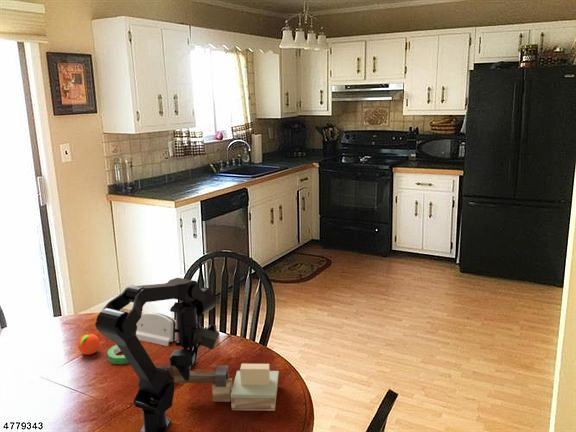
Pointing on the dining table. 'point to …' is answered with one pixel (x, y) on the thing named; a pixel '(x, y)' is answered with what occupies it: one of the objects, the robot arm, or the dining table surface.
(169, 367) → the bolt
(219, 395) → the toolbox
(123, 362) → the tape roll
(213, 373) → the key
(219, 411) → the dining table surface
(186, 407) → the dining table surface
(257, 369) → the lid
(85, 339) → the clementine
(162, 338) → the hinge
